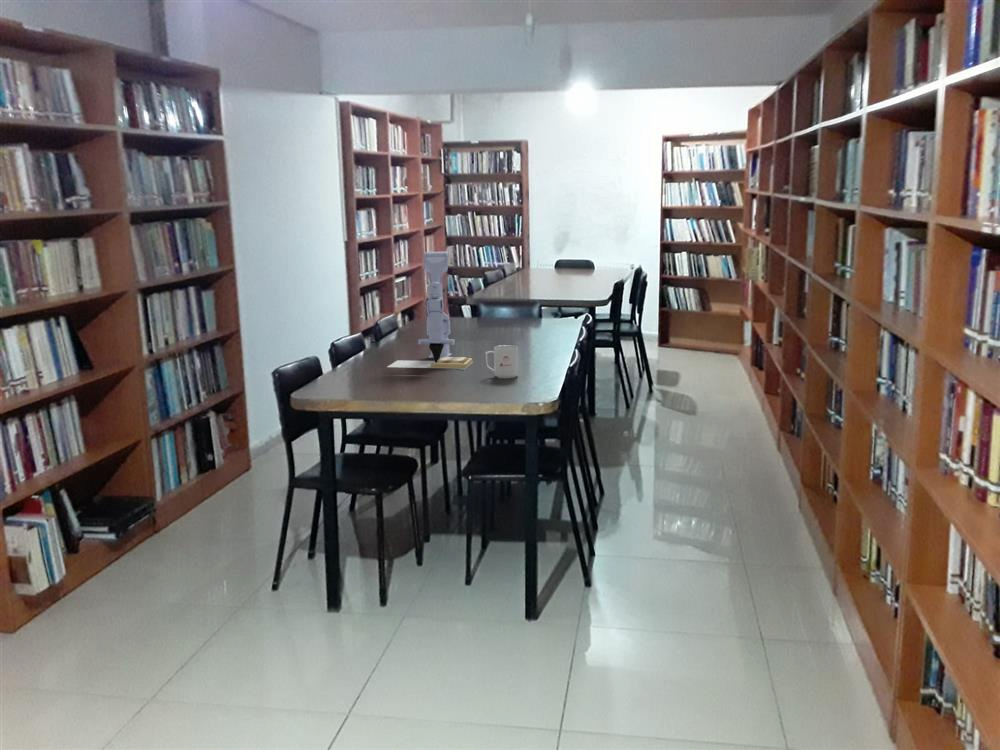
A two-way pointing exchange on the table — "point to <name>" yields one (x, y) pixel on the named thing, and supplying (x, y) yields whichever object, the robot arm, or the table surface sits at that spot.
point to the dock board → (430, 364)
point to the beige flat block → (452, 360)
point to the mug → (505, 361)
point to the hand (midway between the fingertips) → (437, 362)
